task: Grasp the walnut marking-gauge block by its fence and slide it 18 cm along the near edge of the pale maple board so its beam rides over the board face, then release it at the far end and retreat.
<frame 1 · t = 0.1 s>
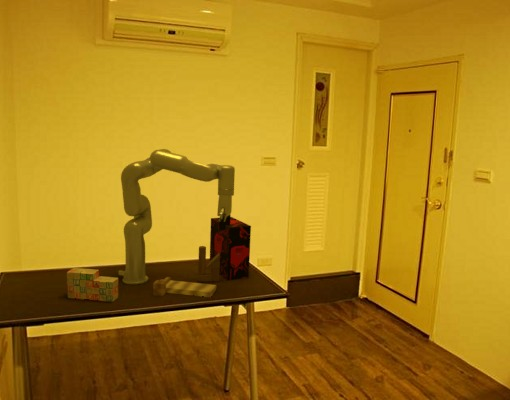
hand: (224, 227, 211), 31 cm above the table, fingers open, 9 cm apart
gauge: (159, 294, 208), on the table
board: (185, 290, 213), on the table
box: (228, 272, 242), on the table
stack of blocks: (93, 298, 200), on the table
brown angled bracket: (208, 281, 228), on the table
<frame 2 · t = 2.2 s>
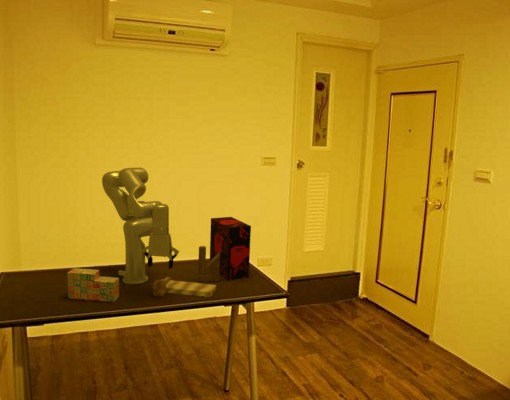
hand: (160, 267, 205), 13 cm above the table, fingers open, 9 cm apart
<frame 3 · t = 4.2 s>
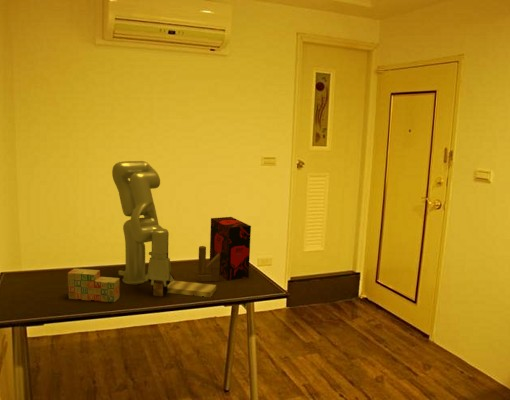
hand: (159, 292, 207), 1 cm above the table, fingers closed on gauge, 4 cm apart
gauge: (159, 294, 208), on the table, touching gripper
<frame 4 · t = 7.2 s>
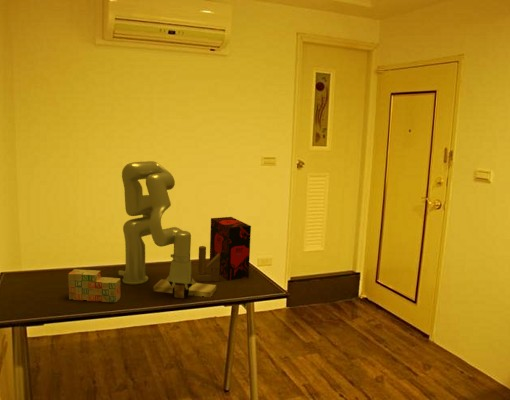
hand: (180, 295, 206), 0 cm above the table, fingers closed on gauge, 4 cm apart
gauge: (180, 296, 206), on the table, touching gripper
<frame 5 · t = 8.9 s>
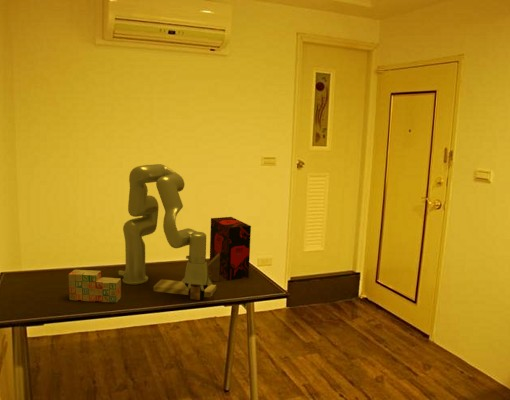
hand: (196, 296, 205), 1 cm above the table, fingers closed on gauge, 4 cm apart
gauge: (196, 297, 205), on the table, touching gripper
when the fingers open (1 cm above the table, at t = 10.1 s): gauge stays where it is, on the table.
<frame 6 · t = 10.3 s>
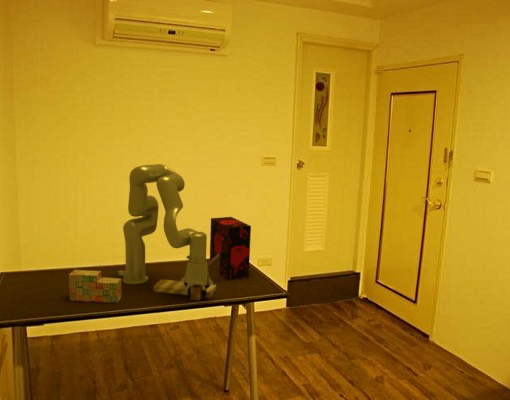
hand: (196, 296, 205), 1 cm above the table, fingers open, 5 cm apart
gauge: (196, 298, 205), on the table
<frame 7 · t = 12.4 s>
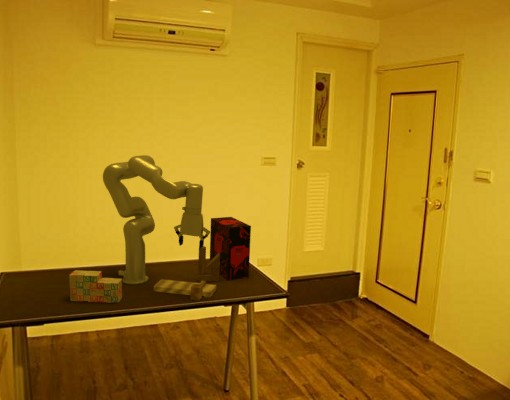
hand: (190, 246, 208), 22 cm above the table, fingers open, 9 cm apart
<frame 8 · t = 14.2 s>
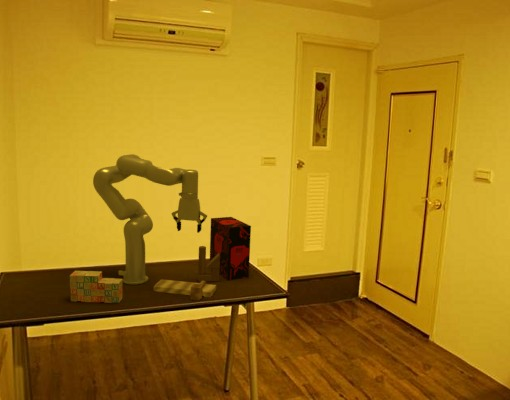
hand: (189, 231, 212), 28 cm above the table, fingers open, 9 cm apart
at the end: gauge inside the target area (0.3 cm from its centre), on the table; gauge tilted 0°; gauge moved 17.9 cm from its start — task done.
